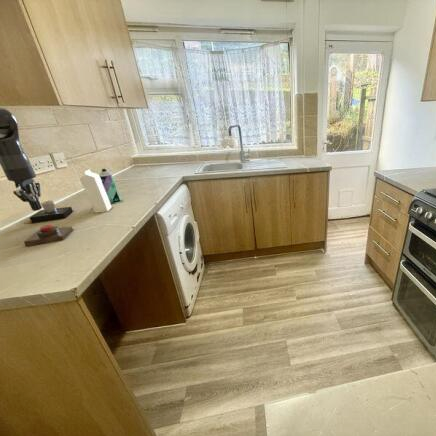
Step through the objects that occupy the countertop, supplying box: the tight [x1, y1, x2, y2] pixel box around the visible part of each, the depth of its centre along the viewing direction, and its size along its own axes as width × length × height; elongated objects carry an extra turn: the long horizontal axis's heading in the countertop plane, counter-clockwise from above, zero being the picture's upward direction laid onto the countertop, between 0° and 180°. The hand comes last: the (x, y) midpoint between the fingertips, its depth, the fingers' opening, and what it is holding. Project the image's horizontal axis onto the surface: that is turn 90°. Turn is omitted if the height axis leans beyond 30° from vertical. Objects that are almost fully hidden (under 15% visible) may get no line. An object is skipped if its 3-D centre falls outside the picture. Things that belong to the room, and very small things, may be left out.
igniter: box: [23, 225, 74, 248], centre depth 102 cm, size 12×10×4 cm
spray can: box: [98, 168, 122, 204], centre depth 138 cm, size 6×6×20 cm
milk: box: [80, 168, 112, 214], centre depth 126 cm, size 6×6×22 cm
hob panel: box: [29, 206, 74, 224], centre depth 124 cm, size 13×10×3 cm
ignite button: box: [39, 224, 53, 232], centre depth 101 cm, size 4×4×2 cm
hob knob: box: [40, 200, 57, 213], centre depth 122 cm, size 4×4×5 cm
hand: (37, 209), depth 97 cm, fingers closed
